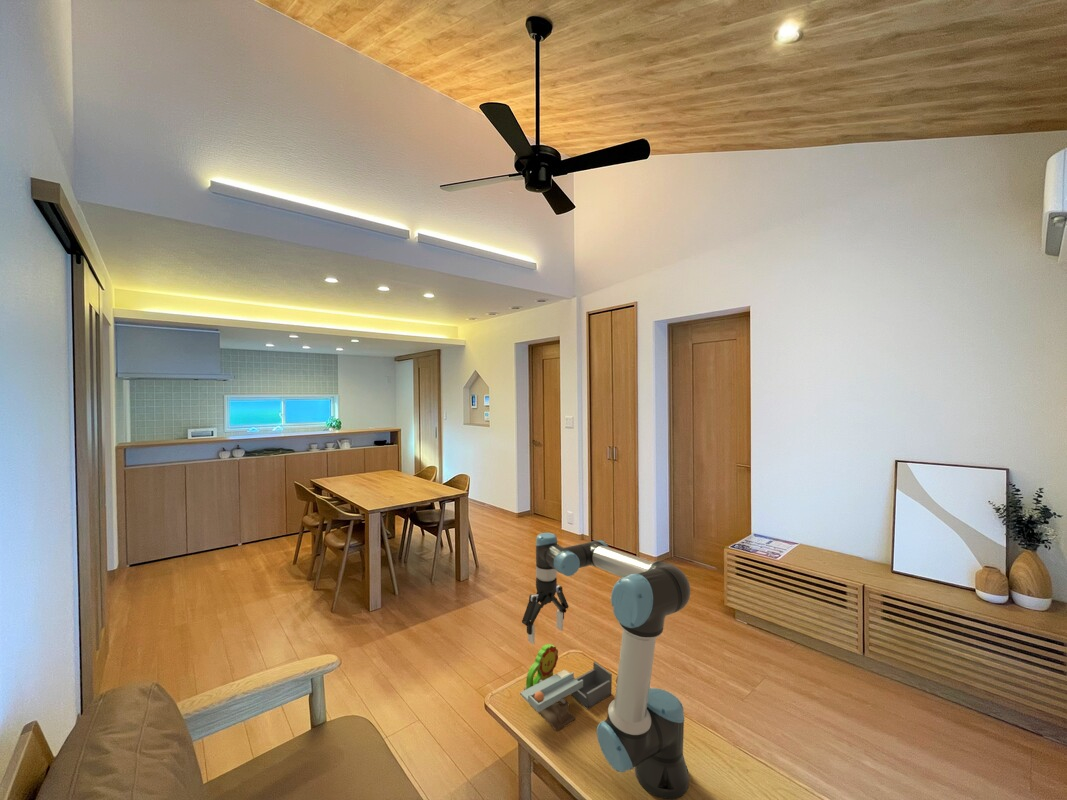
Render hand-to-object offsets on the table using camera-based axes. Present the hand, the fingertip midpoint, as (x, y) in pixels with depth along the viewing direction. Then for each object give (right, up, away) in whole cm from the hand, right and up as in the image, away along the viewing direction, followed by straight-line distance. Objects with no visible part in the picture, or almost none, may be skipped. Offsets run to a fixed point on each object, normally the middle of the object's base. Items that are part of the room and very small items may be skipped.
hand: (545, 635), depth 157 cm
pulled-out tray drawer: (+17, -23, +3) cm, 29 cm away
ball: (-3, -14, -13) cm, 19 cm away
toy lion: (-1, -23, +6) cm, 24 cm away
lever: (+2, -17, -6) cm, 18 cm away
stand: (+2, -24, -6) cm, 24 cm away
